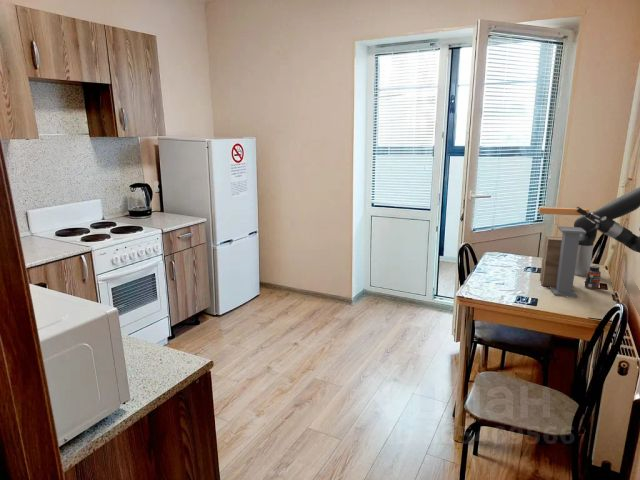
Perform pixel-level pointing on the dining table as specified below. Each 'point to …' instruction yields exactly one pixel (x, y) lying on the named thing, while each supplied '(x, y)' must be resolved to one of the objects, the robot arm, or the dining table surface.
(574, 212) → the block
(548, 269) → the tan upright box
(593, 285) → the supplement bottle
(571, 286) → the tall stand
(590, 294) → the dining table surface
